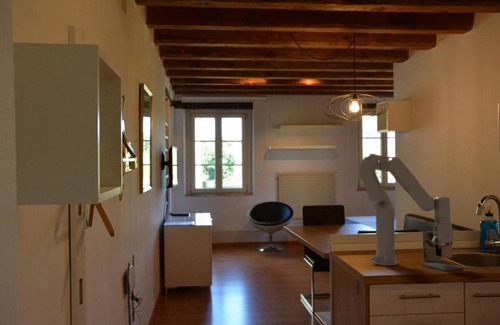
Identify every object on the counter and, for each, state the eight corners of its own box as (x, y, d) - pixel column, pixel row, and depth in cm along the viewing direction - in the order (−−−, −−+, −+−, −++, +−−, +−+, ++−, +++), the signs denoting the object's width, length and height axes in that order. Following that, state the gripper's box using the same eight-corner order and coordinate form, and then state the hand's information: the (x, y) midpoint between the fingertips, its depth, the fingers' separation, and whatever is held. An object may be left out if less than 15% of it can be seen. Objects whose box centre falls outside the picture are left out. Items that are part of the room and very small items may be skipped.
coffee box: (440, 260, 246) (440, 231, 246) (440, 262, 240) (440, 232, 240) (422, 258, 249) (422, 230, 249) (422, 261, 243) (422, 232, 243)
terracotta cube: (443, 258, 223) (443, 246, 223) (434, 256, 228) (434, 244, 228) (452, 257, 225) (451, 245, 226) (442, 255, 231) (442, 243, 231)
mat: (444, 271, 217) (444, 269, 217) (422, 265, 230) (422, 264, 230) (463, 268, 224) (463, 266, 224) (440, 263, 236) (440, 261, 236)
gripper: (436, 222, 220) (437, 258, 220) (460, 220, 228) (460, 254, 227) (424, 220, 227) (425, 255, 226) (447, 218, 234) (448, 252, 234)
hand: (443, 254), depth 227 cm, fingers closed on terracotta cube, 6 cm apart
